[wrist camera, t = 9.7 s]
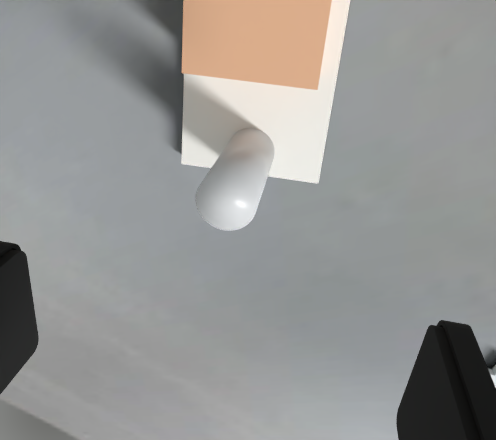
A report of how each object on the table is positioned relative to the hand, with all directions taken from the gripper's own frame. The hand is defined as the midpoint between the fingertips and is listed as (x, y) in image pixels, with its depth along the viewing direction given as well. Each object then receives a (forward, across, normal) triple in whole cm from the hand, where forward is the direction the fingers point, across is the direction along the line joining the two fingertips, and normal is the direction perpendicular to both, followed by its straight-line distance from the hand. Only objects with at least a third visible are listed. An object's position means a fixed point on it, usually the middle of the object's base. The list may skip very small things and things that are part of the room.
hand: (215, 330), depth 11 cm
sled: (+21, +2, -6) cm, 22 cm away
